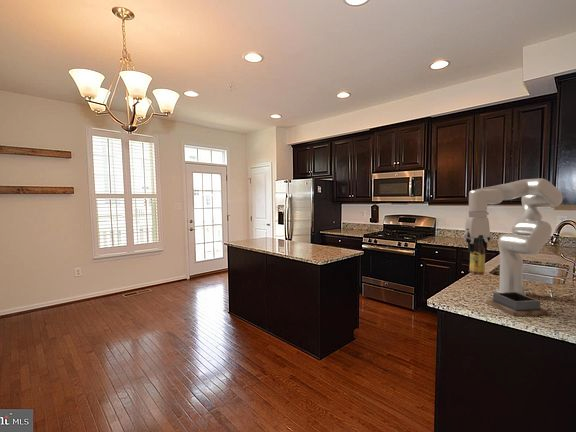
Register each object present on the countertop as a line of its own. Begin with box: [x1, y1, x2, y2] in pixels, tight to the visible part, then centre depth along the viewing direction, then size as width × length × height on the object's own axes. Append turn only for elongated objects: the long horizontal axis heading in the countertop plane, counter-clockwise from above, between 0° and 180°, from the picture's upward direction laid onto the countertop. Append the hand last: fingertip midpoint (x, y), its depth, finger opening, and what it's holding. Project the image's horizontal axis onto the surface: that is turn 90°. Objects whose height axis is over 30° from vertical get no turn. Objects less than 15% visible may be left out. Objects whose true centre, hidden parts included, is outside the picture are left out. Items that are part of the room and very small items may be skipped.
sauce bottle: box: [469, 235, 486, 276], centre depth 141 cm, size 6×6×20 cm
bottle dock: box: [486, 292, 549, 317], centre depth 130 cm, size 16×15×6 cm
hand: (477, 250), depth 141 cm, fingers closed on sauce bottle, 6 cm apart
